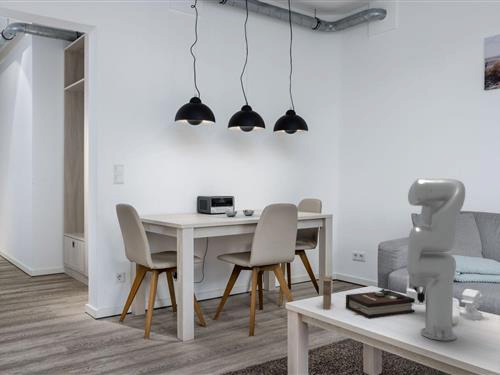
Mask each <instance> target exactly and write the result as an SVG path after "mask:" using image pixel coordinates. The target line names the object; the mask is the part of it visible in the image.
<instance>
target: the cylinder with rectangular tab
mask: <svg viewBox="0 0 500 375" xmlns="http://www.w3.org/2000/svg"><path fill="white" fill-rule="evenodd" d="M422 289H423V287H420V292H422ZM406 296H408V297H411V298H414V299H415V303H412V305H419V306H421V305H426V294H425V301H423V303H422V302H421V303H419V300H417V292H416V291H415V290H414V289H411V288H409V275H407V276H406Z"/></svg>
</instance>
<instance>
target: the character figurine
mask: <svg viewBox="0 0 500 375" xmlns="http://www.w3.org/2000/svg"><path fill="white" fill-rule="evenodd" d="M461 298H462V299H461V300H460V302H461V303H463V304H465V306H464V309H461V310H459V316H460V317H461V319H462V318H463V319H466V320H471V321H481V320H482V319H483V313H482V312H481V311H478V308H480V306H481V305H482V303H483V302H482V300H481V299H482V298H484V296H483V294H482V293H481V292H480V290H475V289H470V288H466V289H464V291H463V292H462V293H461Z"/></svg>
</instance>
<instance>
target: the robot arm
mask: <svg viewBox="0 0 500 375" xmlns="http://www.w3.org/2000/svg"><path fill="white" fill-rule="evenodd" d="M465 186H466V185H464V183H463V182H462V181H460V180H458V179H453V178H417V179H416V180H415V181H414V182H413V183H412V184H411V186H410V187H409V189H408V193H407V200H408V203H409V205H410V206H414V207H416V206H418V207H421V210H420V215H419V217H420V218H419V219H420V220H421V222H422V223H423V224H425V225H416V226H413V228H411V229H410V232H409V234H408V235H409V236H408V245H407V256H406V270H407V274H408V276H409V288H411V289H414V290H415V291H416V292H417V300H419V303H421V302H422V303H423V301H425V294H426V304H425V319H424V327H423V328H421V329H420V334H421V335H422V336H423V337H425V338H428V339H430V340H436V341H442V342H443V341H444V342H449V341H455V340H456V339H457V337H458V336H457V333H456V332H454V331H453V314H454V313H453V312H454V311H453V307H454V301H453V300H454V281H455V280H454V279H455V275H456V270H457V269H456V268H457V260H456V259H455V257H454V256H453V255H451V254H449V253H448V252H451V251H452V250H453V248H454V245H455V241H456V234H457V233H456V232H457V224H458V217H459V216H460V213H461V210H462V209H463V206H464V203H465V199H466V187H465ZM445 252H447V253H445ZM420 287H423V289H422V292H420Z"/></svg>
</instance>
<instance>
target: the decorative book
mask: <svg viewBox="0 0 500 375" xmlns="http://www.w3.org/2000/svg"><path fill="white" fill-rule="evenodd" d="M412 303H415V299H414V298H411V297H408V296H407V295H404V294H402V293H399V292H396V291H392V290H387V289H386V288H382V289H381V290H378V291H369V292H361V293H360V292H359V293H350V294H349V293H348V294H345V309H347V310H348V311H350V312H353V313H356V314H357V315H360V316H362V317H364V318H366V319H377V318H384V317H391V316H399V315H400V316H401V315H407V314H414V313H415V309H413V308H412V306H413V304H412Z"/></svg>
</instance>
